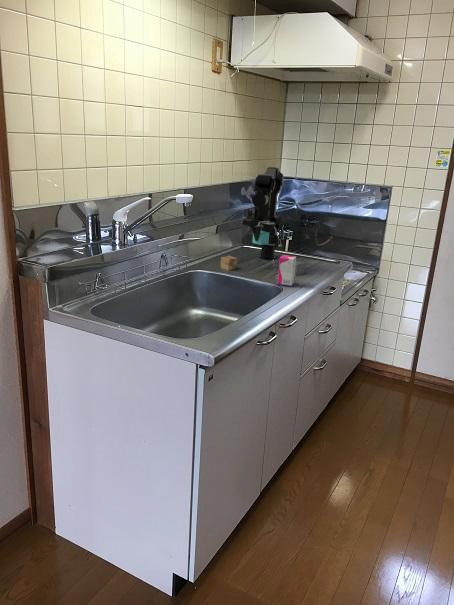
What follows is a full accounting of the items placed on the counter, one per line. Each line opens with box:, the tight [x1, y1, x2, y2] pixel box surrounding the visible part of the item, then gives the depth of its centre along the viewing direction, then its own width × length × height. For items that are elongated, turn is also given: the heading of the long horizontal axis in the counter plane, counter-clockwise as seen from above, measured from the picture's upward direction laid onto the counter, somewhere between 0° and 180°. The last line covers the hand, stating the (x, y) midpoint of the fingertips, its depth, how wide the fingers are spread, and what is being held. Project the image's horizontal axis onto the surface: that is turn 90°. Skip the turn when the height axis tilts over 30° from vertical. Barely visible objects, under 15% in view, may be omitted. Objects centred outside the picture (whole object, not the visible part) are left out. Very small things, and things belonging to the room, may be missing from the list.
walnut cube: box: [220, 255, 238, 271], centre depth 220 cm, size 5×5×5 cm
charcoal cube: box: [295, 260, 305, 276], centre depth 218 cm, size 5×5×5 cm
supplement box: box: [277, 254, 297, 288], centre depth 200 cm, size 6×6×12 cm
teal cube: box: [252, 231, 269, 245], centre depth 218 cm, size 5×5×5 cm
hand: (260, 240), depth 218 cm, fingers closed on teal cube, 5 cm apart
